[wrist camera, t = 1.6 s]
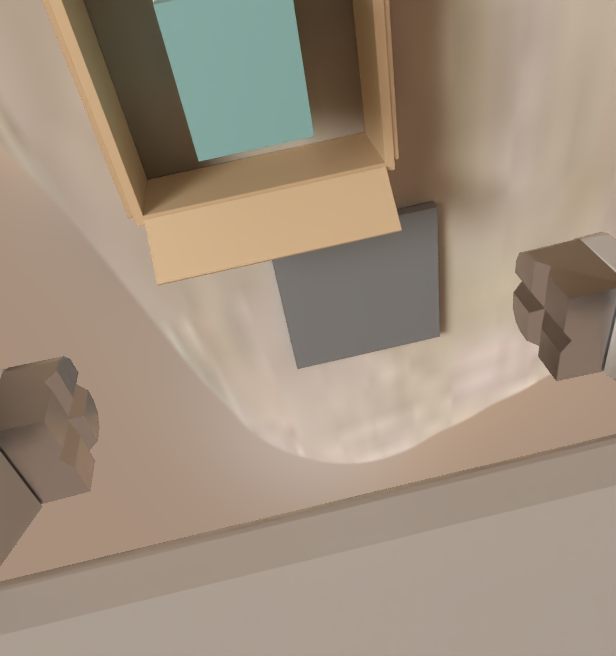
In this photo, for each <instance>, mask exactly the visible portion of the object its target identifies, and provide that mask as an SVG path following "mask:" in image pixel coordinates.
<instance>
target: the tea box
mask: <svg viewBox="0 0 616 656" xmlns="http://www.w3.org/2000/svg"><path fill="white" fill-rule="evenodd" d="M153 6H154V10H155V13H156V16H157V20H158V23H159V27H160V30H161V34H162V37H163V41H164V44H165V47H166V51H167V54H168V58H169V61H170V65H171V68H172V72H173V75H174V78H175V82H176V85H177V89H178V92H179V96H180V99H181V102H182V106H183V109H184V113H185V116H186V120H187V123H188V127H189V130H190V133H191V137H192V140H193V144H194V147H195V151H196V154H197V157H198V161H204V160H209V159H213V158H218V157H222V156H227V155H231V154H236V153H241V152H245V151H250V150H254V149H259V148H264V147H268V146H273V145H277V144H282V143H286V142H291V141H296V140H300V139H305V138H309V137H314V132H313V126H312V119H311V113H310V106H309V100H308V93H307V87H306V80H305V74H304V67H303V61H302V54H301V48H300V42H299V35H298V29H297V22H296V16H295V9H294V3H293V0H153Z"/></svg>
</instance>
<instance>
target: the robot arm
mask: <svg viewBox="0 0 616 656" xmlns="http://www.w3.org/2000/svg"><path fill="white" fill-rule="evenodd" d="M515 273H516V274H517V275H518V276H519V278H520V279H521V280H522V282H521V283H520V285H519V286H518V287H517V288H516V290H515V291H514V293H513V310H514V315H515V320H516V323H517V325H518V327H519V330H520V332H521V333H522V335H523V336H524V337H525V339H526V340H527V341H529V342H531V343H534V344H536V345H538V346H539V354H538V357H539V358H540V360H541V361H542V362H543V364H544V365H545V366H546V368H547V369H548V370H549V372H550V373H551V374H552V376H553V377H554V379H555V380H556V381H559V380H563V379H569V378H573V377H578V376H583V375H588V374H593V373H597V372H602V371H604V372H603V374H605V375H607V376H609V377H611V378H613V379H614V380H616V240H615V239H614V238H613V237H612V236H611V235H609V234H607V233H603V232H599V233H595V234H591V235H587V236H584V237H580V238H576V239H574V240H572V241H567V242H563V243H559V244H554V245H550V246H546V247H542V248H537V249H533V250H529V251H525V252H520V253H519V255H518V258H517V260H516V269H515ZM77 377H78V371H77V370H76V368H75V366H74V365H73V363H72V362H71V360H70V359H69V358H66V357H64V356H63V357H58V358H53V359H48V360H43V361H38V362H34V363H29V364H24V365H19V366H15V367H9V368H7V369H1V370H0V566H1V565H2V563H3V562H4V560H5V559H6V557H7V556H8V555H9V553H10V552H11V550H12V549H13V547H14V546H15V545H16V543H17V542H18V540H19V539H20V537H21V536H22V535H23V533H24V532H25V530H26V529H27V527H28V526H29V525H30V523H31V522H32V520H33V519H34V518H35V516H36V515H37V513H38V512H39V510H40V509H41V508H42V505H41V504H43V503H47V502H51V501H55V500H58V499H62V498H66V497H70V496H74V495H77V494H81V493H85V492H89V491H90V490H91V484H92V477H93V471H94V464H95V459H94V458H93V456H92V454H91V453H90V451H89V450H90V449H91V448H92V447H93V446H94V445H95V443H96V442H97V441H98V436H99V421H98V412H97V409H96V406H95V403H94V400H93V398H92V396H91V395H90V393H89V391H88V390H86V389H84V388H82V387H80V386H79V385H77V384H76V382H77ZM0 656H616V434H613V435H609V436H605V437H601V438H597V439H593V440H588V441H584V442H581V443H576V444H572V445H568V446H563V447H559V448H555V449H551V450H547V451H542V452H538V453H534V454H530V455H526V456H522V457H517V458H513V459H509V460H505V461H501V462H497V463H492V464H489V465H484V466H480V467H475V468H471V469H467V470H463V471H459V472H454V473H450V474H446V475H442V476H438V477H433V478H429V479H425V480H421V481H417V482H413V483H408V484H405V485H400V486H396V487H392V488H388V489H384V490H380V491H375V492H372V493H367V494H363V495H359V496H355V497H350V498H346V499H342V500H338V501H334V502H329V503H325V504H321V505H317V506H313V507H309V508H305V509H300V510H296V511H292V512H288V513H284V514H280V515H276V516H271V517H267V518H263V519H259V520H255V521H251V522H246V523H242V524H239V525H235V526H230V527H226V528H222V529H217V530H213V531H209V532H205V533H201V534H197V535H192V536H188V537H184V538H180V539H176V540H172V541H167V542H163V543H159V544H155V545H151V546H147V547H142V548H138V549H134V550H130V551H126V552H122V553H117V554H113V555H109V556H105V557H101V558H97V559H93V560H88V561H84V562H80V563H76V564H72V565H67V566H63V567H59V568H55V569H51V570H47V571H42V572H39V573H34V574H30V575H26V576H22V577H18V578H14V579H9V580H6V581H1V582H0Z"/></svg>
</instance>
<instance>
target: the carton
mask: <svg viewBox="0 0 616 656" xmlns="http://www.w3.org/2000/svg"><path fill="white" fill-rule="evenodd" d="M42 1H43V4H44V6H45V9H46V11H47V14H48V16H49V19H50V21H51V24H52V27H53V29H54V32H55V34H56V37H57V39H58V42H59V44H60V47H61V49H62V52H63V54H64V57H65V59H66V62H67V64H68V67H69V69H70V72H71V74H72V77H73V79H74V82H75V84H76V87H77V90H78V92H79V95H80V97H81V100H82V102H83V105H84V107H85V110H86V112H87V115H88V117H89V120H90V122H91V125H92V127H93V130H94V132H95V135H96V137H97V140H98V142H99V145H100V148H101V150H102V153H103V155H104V158H105V160H106V163H107V165H108V168H109V170H110V173H111V175H112V178H113V180H114V183H115V185H116V188H117V190H118V193H119V195H120V198H121V200H122V203H123V205H124V208H125V211H126V213H127V216H128V218H134V221H135V223H136V226H141V225H145V227H146V232H147V237H148V242H149V247H150V252H151V256H152V261H153V266H154V271H155V276H156V281H157V285H162V284H166V283H171V282H175V281H180V280H184V279H189V278H193V277H198V276H202V275H207V274H211V273H216V272H220V271H225V270H229V269H234V268H238V267H243V266H247V265H251V264H256V263H260V262H265V261H269V260H274V259H278V258H283V257H287V256H292V255H296V254H301V253H305V252H310V251H314V250H319V249H323V248H328V247H332V246H336V245H341V244H345V243H350V242H354V241H359V240H363V239H368V238H372V237H377V236H381V235H386V234H390V233H395V232H399V231H401V230H402V229H401V225H400V221H399V217H398V213H397V209H396V205H395V201H394V197H393V193H392V189H391V185H390V181H389V177H388V173H387V171H391V170H395V162H394V160H396V159H399V153H398V137H397V121H396V104H395V88H394V72H393V56H392V39H391V23H390V7H389V0H352V2H353V12H354V22H355V33H356V43H357V53H358V64H359V74H360V84H361V95H362V105H363V115H364V126H365V132H364V133H359V134H355V135H350V136H346V137H341V138H336V139H332V140H327V141H323V142H318V143H314V144H309V145H304V146H300V147H295V148H291V149H286V150H282V151H277V152H272V153H268V154H263V155H259V156H254V157H250V158H245V159H240V160H236V161H231V162H227V163H222V164H218V165H213V166H208V167H204V168H199V169H195V170H190V171H186V172H181V173H176V174H172V175H167V176H163V177H158V178H154V179H149V180H147V178H146V175H145V172H144V169H143V166H142V164H141V161H140V158H139V155H138V152H137V150H136V147H135V144H134V141H133V138H132V136H131V133H130V130H129V127H128V124H127V122H126V119H125V116H124V113H123V110H122V108H121V105H120V102H119V99H118V96H117V94H116V91H115V88H114V85H113V82H112V80H111V77H110V74H109V71H108V68H107V66H106V63H105V60H104V57H103V54H102V52H101V49H100V46H99V43H98V40H97V38H96V35H95V32H94V29H93V26H92V24H91V21H90V18H89V15H88V12H87V10H86V7H85V4H84V1H83V0H42Z"/></svg>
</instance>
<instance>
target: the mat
mask: <svg viewBox="0 0 616 656" xmlns="http://www.w3.org/2000/svg"><path fill="white" fill-rule="evenodd" d="M397 213H398V217H399V221H400V225H401V229H402V230H401V231H399V232H395V233H390V234H386V235H381V236H377V237H372V238H368V239H363V240H359V241H354V242H350V243H345V244H341V245H336V246H332V247H328V248H323V249H319V250H314V251H310V252H305V253H301V254H296V255H292V256H287V257H283V258H278V259H274V260H272V262H273V266H274V270H275V275H276V279H277V283H278V288H279V292H280V296H281V300H282V305H283V309H284V313H285V318H286V322H287V326H288V331H289V335H290V339H291V343H292V348H293V352H294V356H295V361H296V365H297V369H300V368H304V367H309V366H313V365H317V364H322V363H326V362H330V361H335V360H339V359H344V358H348V357H352V356H357V355H361V354H365V353H370V352H374V351H378V350H383V349H387V348H392V347H396V346H400V345H405V344H409V343H413V342H418V341H422V340H427V339H431V338H435V337H440V324H439V270H438V216H437V206H436V204H435V203H434V202H428V203H424V204H419V205H415V206H410V207H406V208H401V209H397Z"/></svg>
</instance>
